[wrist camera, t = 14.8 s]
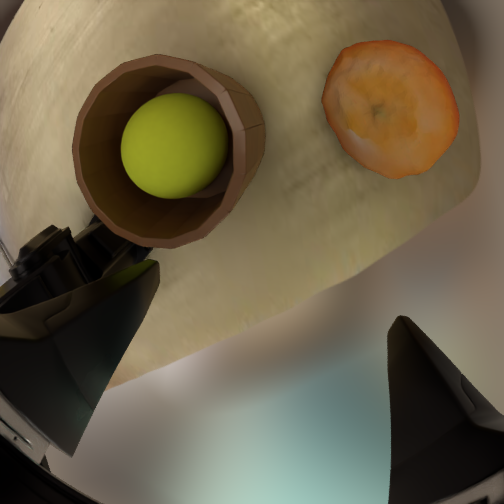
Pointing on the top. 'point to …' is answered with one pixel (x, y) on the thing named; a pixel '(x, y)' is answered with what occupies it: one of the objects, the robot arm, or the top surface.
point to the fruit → (390, 107)
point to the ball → (174, 145)
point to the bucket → (110, 161)
